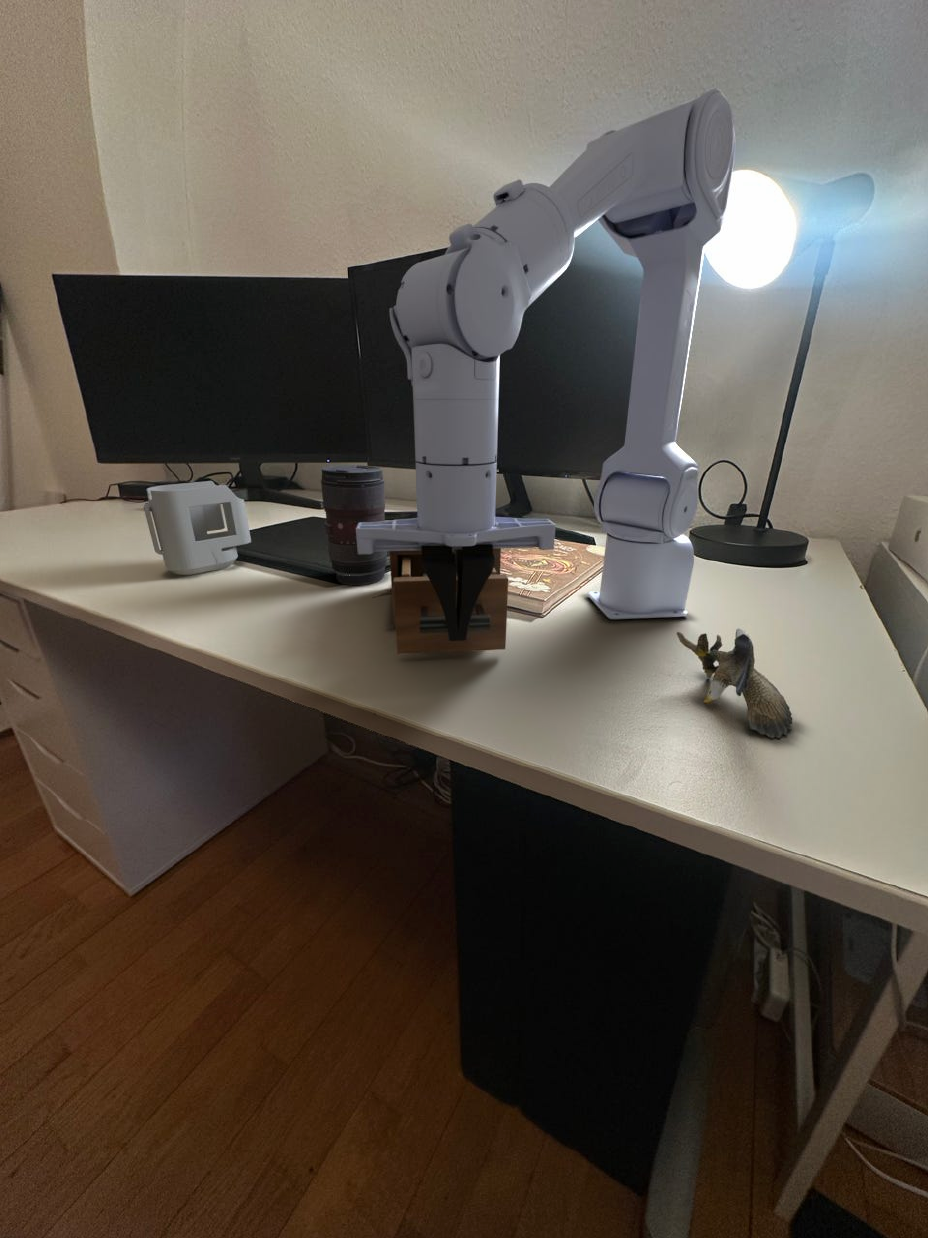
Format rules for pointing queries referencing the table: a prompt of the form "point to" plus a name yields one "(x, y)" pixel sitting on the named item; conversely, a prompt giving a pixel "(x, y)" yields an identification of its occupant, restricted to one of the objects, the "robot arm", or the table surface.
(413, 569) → the drawer
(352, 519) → the camera lens
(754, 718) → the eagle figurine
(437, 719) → the table surface
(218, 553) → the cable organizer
